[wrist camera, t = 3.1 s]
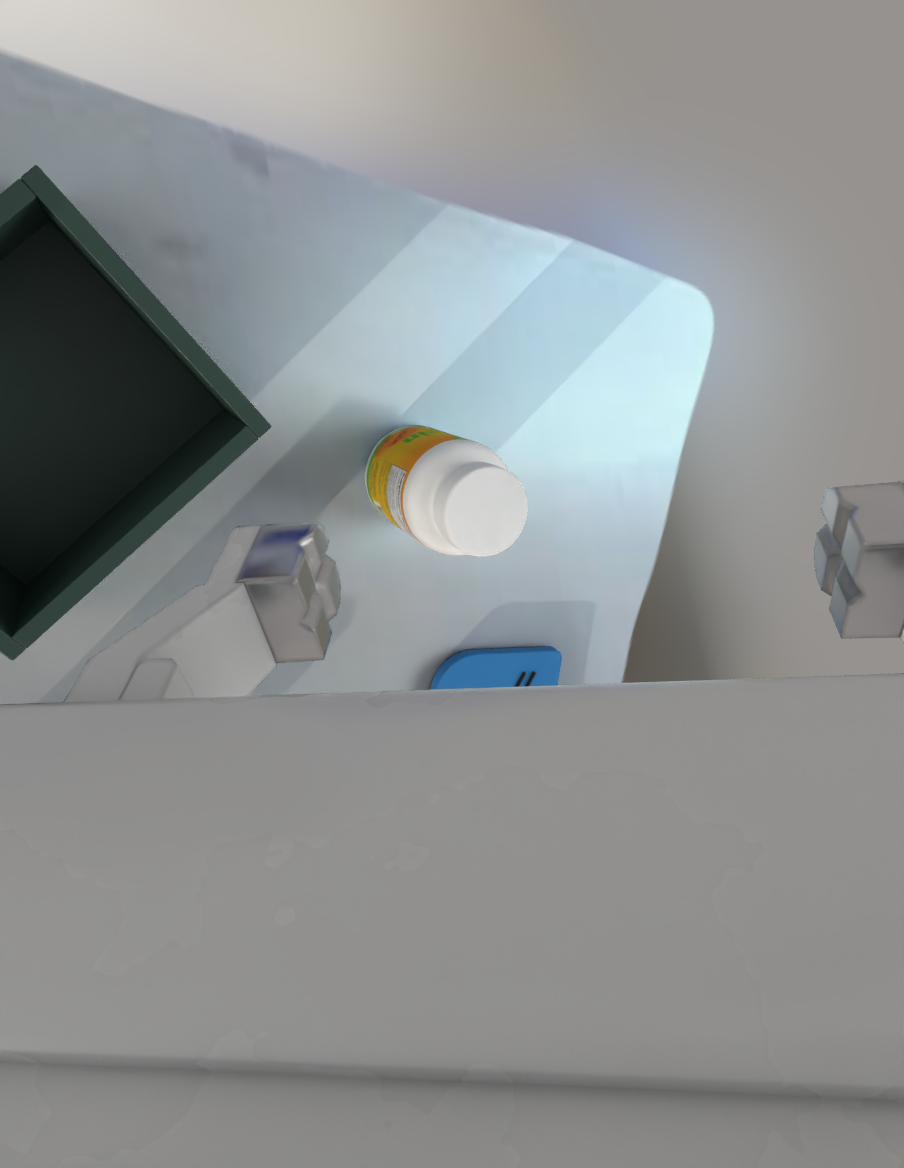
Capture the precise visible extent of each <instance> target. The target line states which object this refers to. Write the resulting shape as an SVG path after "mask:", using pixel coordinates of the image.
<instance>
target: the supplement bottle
mask: <svg viewBox="0 0 904 1168" xmlns="http://www.w3.org/2000/svg"><path fill="white" fill-rule="evenodd" d="M365 486H366V490H367V494H368V496H369V499H370V501H371V503H372V504H373V506H374V507H375V509H376V510H377V511H378V512H379V513H380V514H381V515H382V516H383V517H385V518H386V519H387V520H388V521H390V522H391V523H393V524H394V525H396V526H397V527H399V528H400V529H402V530H403V531H405V532H406V533H407V534H409V535H410V536H412V537H413V538H415V539H416V540H418V541H419V542H421V543H422V544H423V545H425V546H427V547H428V548H430V549H432V550H434V551H436V552H439V553H442V554H447V555H467V554H469V555H473V556H480V557H484V556H491V555H495V554H498V553H500V552H502V551H503V550H505V549H506V548H508V547H509V546H510V545H512V544H513V543H514V541H515V540H516V539H517V538H518V536H519V535H520V533H521V531H522V530H523V528H524V525H525V522H526V518H527V513H528V502H527V496H526V493H525V490H524V488H523V486H522V484H521V483H520V481H519V480H518V479H517V478H516V476H514V475H513V474H512V473H511V472H509V470H508V468H507V467H506V465H505V463H504V462H503V461H502V459H501V458H500V457H499V456H498V455H497V454H496V453H495V452H494V451H492V450H491V449H489V448H488V447H486V446H484V445H482V444H479V443H477V442H474V441H471V440H467V439H464V438H461V437H458V436H454V435H451V434H448V433H445V432H442V431H439V430H436V429H433V428H430V427H425V426H420V425H409V426H404V427H400V428H397V429H395V430H393V431H391V432H389V433H388V434H386V435H385V436H384V437H383V438H382V439H381V440H380V441H379V442H378V443H377V444H376V445H375V447H374V448H373V450H372V452H371V453H370V456H369V458H368V461H367V465H366V470H365Z"/></svg>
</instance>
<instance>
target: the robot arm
mask: <svg viewBox="0 0 904 1168" xmlns="http://www.w3.org/2000/svg"><path fill="white" fill-rule="evenodd" d="M821 511H822V513H823V515H824V518H825V520H826V522H827V524H825V525H824V527H822V528H821V529H820V530H819V531H818V532H817V534H816V541H815V547H814V566H815V572H816V576H817V580H818V583H819V585H820V588H821V590H822V591H824V592H825V593H827V594H828V595H830V596H832V597H831V602H830V607H829V610H830V613H831V615H832V617H833V620H834V622H835V625H836V627H837V629H838V632H839V634H840V637H841V638H842V639H852V638H901V639H900V640H901V641H902V642H903V643H904V481H897V482H892V483H891V482H890V483H878V484H866V485H854V486H842V487H829V488H827V490H826V492H825V495H824V498H823V502H822V508H821ZM328 544H329V540H328V537H327V534H326V531H325V528H324V526H323V525H322V524H321V523H319V522H310V523H289V524H268V525H252V526H238V527H236V528H234V529H233V530H232V531H231V533H230V535H229V537H228V539H227V541H226V543H225V545H224V547H223V549H222V551H221V553H220V556H219V558H218V560H217V562H216V564H215V566H214V568H213V570H212V572H211V574H210V576H209V578H208V580H207V582H206V584H205V585H197V586H195V587H194V588H192V589H191V590H189V591H188V592H187V593H185V594H184V595H182V596H181V597H179V598H178V599H176V600H175V601H174V602H172V603H171V604H169V605H168V606H166V607H165V608H163V609H162V610H160V611H159V612H158V613H156V614H155V615H153V616H152V617H150V618H149V619H147V620H146V621H144V622H143V623H142V624H140V625H139V626H137V627H136V628H134V629H133V630H131V631H130V632H128V633H127V634H126V635H124V636H123V637H121V638H120V639H118V640H117V641H115V642H114V643H113V644H111V645H110V646H108V647H107V648H105V649H104V650H102V651H101V652H99V653H98V654H97V655H95V656H94V657H92V658H91V659H89V660H88V662H87V663H86V665H85V667H84V668H83V670H82V672H81V673H80V675H79V677H78V678H77V680H76V682H75V683H74V685H73V687H72V688H71V690H70V692H69V694H68V695H67V697H66V699H65V700H64V702H58V703H30V704H1V705H0V1168H904V673H903V674H874V675H845V676H815V677H789V678H787V677H786V678H761V679H760V678H758V679H729V680H701V681H671V682H642V683H613V684H583V685H554V686H525V687H496V688H466V689H437V690H408V691H379V692H349V693H320V694H291V695H262V696H248V695H249V694H250V693H251V692H252V691H253V690H254V689H255V688H256V687H257V686H258V685H259V684H260V683H261V681H262V680H263V679H264V678H265V677H266V676H267V675H268V674H269V673H270V672H271V671H272V670H273V669H274V668H275V667H276V666H277V664H276V663H286V662H301V661H315V660H324V658H325V654H326V651H327V647H328V644H329V640H330V637H331V634H332V631H331V628H330V625H329V622H328V621H330V620H331V619H332V618H333V617H334V616H336V615H337V612H338V608H339V604H340V589H341V586H340V579H339V573H338V569H337V566H336V563H335V561H333V560H332V559H331V558H330V557H328V556H327V555H326V550H327V547H328Z"/></svg>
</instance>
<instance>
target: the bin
mask: <svg viewBox="0 0 904 1168" xmlns="http://www.w3.org/2000/svg"><path fill="white" fill-rule="evenodd" d="M21 179H22V180H21ZM21 179H18V180H17V181H16V182H14V183H13V184H12V185H11V186H10V187H8V188H7V189H6V190H5V191H4V192H2V193H1V194H0V652H1V653H2V654H4V655H5V656H6V657H8V658H9V659H10V660H14V659H15V658H16V657H18V656H19V655H20V654H21V653H22V652H23V651H24V650H25V648H28V647H29V646H30V645H31V644H32V643H33V642H34V641H36V640H37V639H38V638H39V637H40V636H41V635H42V634H43V633H44V632H46V631H47V630H48V629H49V628H50V627H51V626H52V625H53V624H54V623H55V622H57V621H58V620H59V619H60V618H61V617H62V616H63V615H64V614H65V613H67V612H68V611H69V610H70V609H71V608H72V607H73V606H74V605H75V604H76V603H78V602H79V601H80V600H81V599H82V598H83V597H84V596H85V595H86V594H88V593H89V592H90V591H91V590H92V589H93V588H94V587H95V586H96V585H97V584H99V583H100V582H101V581H102V580H103V579H104V578H105V577H106V576H107V575H109V574H110V573H111V572H112V571H113V570H114V569H115V568H116V567H117V566H119V565H120V564H121V563H122V562H123V561H124V560H125V559H126V558H127V557H128V556H130V555H131V554H132V553H133V552H134V551H135V550H136V549H137V548H138V547H140V546H141V545H142V544H143V543H144V542H145V541H146V540H147V539H148V538H149V537H151V536H152V535H153V534H154V533H155V532H156V531H157V530H158V529H159V528H161V527H162V526H163V525H164V524H165V523H166V522H167V521H168V520H169V519H170V518H172V517H173V516H174V515H175V514H176V513H177V512H178V511H179V510H180V509H182V508H183V507H184V506H185V505H186V504H187V503H188V502H189V501H190V500H191V499H193V498H194V497H195V496H196V495H197V494H198V493H199V492H200V491H201V490H203V489H204V488H205V487H206V486H207V485H208V484H209V483H210V482H211V481H212V480H214V479H215V478H216V477H217V476H218V475H219V474H220V473H221V472H222V471H224V470H225V469H226V468H227V467H228V466H229V465H230V464H231V463H232V462H233V461H235V460H236V459H237V458H238V457H239V456H240V455H241V454H242V453H243V452H245V451H246V450H247V449H248V448H249V447H250V446H251V445H252V444H253V443H254V442H256V441H257V440H258V437H259V438H260V437H261V436H262V435H263V434H264V433H265V432H267V431H268V430H269V429H270V428H271V425H270V424H269V423H268V422H267V420H266V419H265V418H264V417H263V416H262V415H261V414H260V413H259V412H258V410H257V409H256V408H255V407H254V406H253V405H252V404H251V403H250V402H249V400H248V399H247V398H246V397H245V396H244V395H243V394H242V393H241V392H240V390H239V389H238V388H237V387H236V386H235V385H234V384H233V383H232V382H231V380H230V379H229V378H228V377H227V376H226V375H225V374H224V373H223V372H222V370H221V369H220V368H219V367H218V366H217V365H216V364H215V363H214V361H213V360H212V359H211V358H210V357H209V356H208V355H207V354H206V353H205V351H204V350H203V349H202V348H201V347H200V346H199V345H198V344H197V343H196V341H195V340H194V339H193V338H192V337H191V336H190V335H189V334H188V333H187V331H186V330H185V329H184V328H183V327H182V326H181V325H180V324H179V323H178V321H177V320H176V319H175V318H174V317H173V316H172V315H171V314H170V313H169V311H168V310H167V309H166V308H165V307H164V306H163V305H162V304H161V303H160V301H159V300H158V299H157V298H156V297H155V296H154V295H153V294H152V293H151V291H150V290H149V289H148V288H147V287H146V286H145V285H144V284H143V283H142V281H141V280H140V279H139V278H138V277H137V276H136V275H135V274H134V272H133V271H132V270H131V269H130V268H129V267H128V266H127V265H126V264H125V262H124V261H123V260H122V259H121V258H120V257H119V256H118V255H117V254H116V252H115V251H114V250H113V249H112V248H111V247H110V246H109V245H108V244H107V242H106V241H105V240H104V239H103V238H102V237H101V236H100V235H99V234H98V232H97V231H96V230H95V229H94V228H93V227H92V226H91V225H90V224H89V222H88V221H87V220H86V219H85V218H84V217H83V216H82V215H81V214H80V212H79V211H78V210H77V209H76V208H75V207H74V206H73V205H72V204H71V202H70V201H69V200H68V199H67V198H66V197H65V196H64V195H63V193H62V192H61V191H60V190H59V189H58V188H57V187H56V186H55V185H54V183H53V182H52V181H51V180H50V179H49V178H48V177H47V176H46V175H45V173H44V172H43V171H42V170H41V169H40V168H39V167H38V166H37V165H35V166H34V167H32V168H31V169H30V170H29V171H28V172H26V173H25V174H24V175H23V176H22V177H21Z"/></svg>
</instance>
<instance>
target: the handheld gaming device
mask: <svg viewBox="0 0 904 1168" xmlns="http://www.w3.org/2000/svg"><path fill="white" fill-rule="evenodd" d="M561 659H562V656H561V653H560V652H559V651H557V650H556V649H554V648H553V647H549V646H548V647H524V648H500V649H476V650H466V651H463V652H460V653H457V654H455V655H454V656H452V657H450V658H449V659H448V660H446V661H445V662H444V663H443V664H442V665H441V666H440V668H439V669H438V671H437V672H436V674H435V676H434V678H433V680H432V683H431V687H430V690H437V689H466V688H496V687H525V686H554V685H558V678H559V672H560V666H561Z"/></svg>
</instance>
